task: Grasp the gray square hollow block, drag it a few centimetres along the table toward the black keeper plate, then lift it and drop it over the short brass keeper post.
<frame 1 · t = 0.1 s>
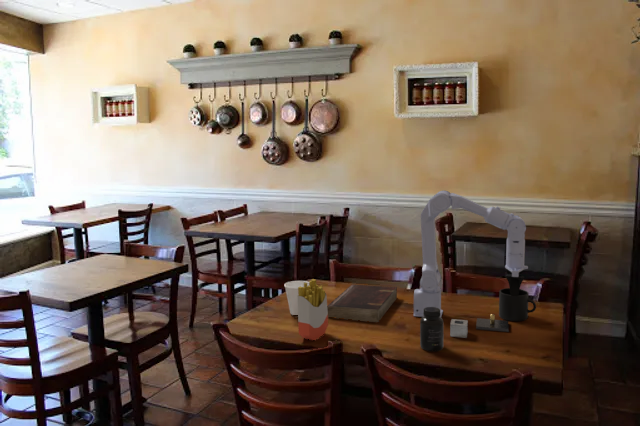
hand: (514, 292, 176), 10 cm above the table, tool pointing down, fingers open, 7 cm apart
french fries container: (314, 337, 168), on the table
cup: (298, 314, 191), on the table
keeper: (492, 326, 173), on the table
mug: (517, 318, 181), on the table
supplement bottle: (431, 348, 157), on the table
gray square hollow block: (458, 334, 167), on the table
hardback book: (363, 308, 196), on the table
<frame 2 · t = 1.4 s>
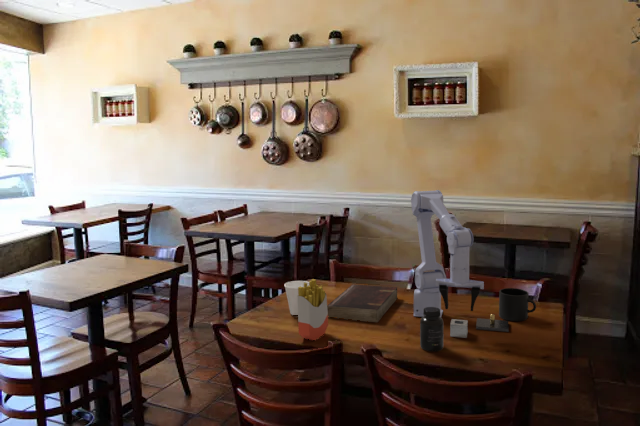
hand: (459, 309, 166), 8 cm above the table, tool pointing down, fingers open, 7 cm apart
nothing on the table moved.
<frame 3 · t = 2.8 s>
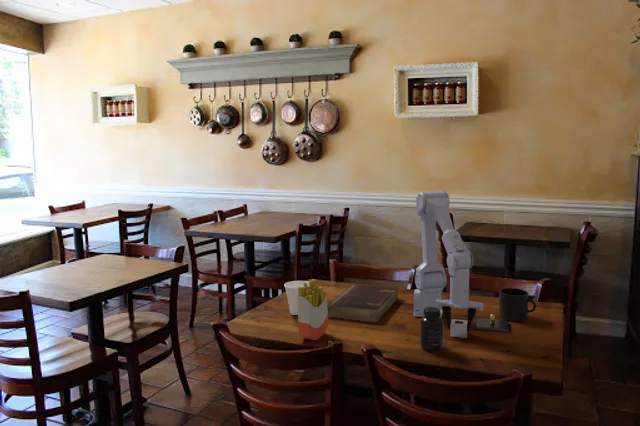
hand: (459, 330, 167), 1 cm above the table, tool pointing down, fingers closed on gray square hollow block, 5 cm apart
gray square hollow block: (458, 334, 167), on the table, touching gripper
everything else where it was.
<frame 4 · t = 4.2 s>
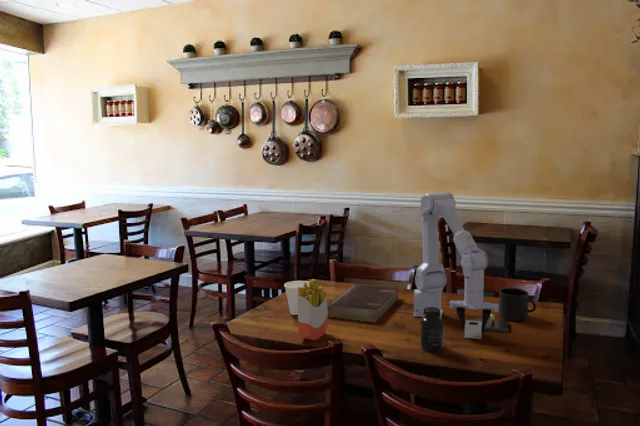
hand: (473, 331, 165), 1 cm above the table, tool pointing down, fingers closed on gray square hollow block, 5 cm apart
gray square hollow block: (473, 335, 165), on the table, touching gripper
everything else where it was.
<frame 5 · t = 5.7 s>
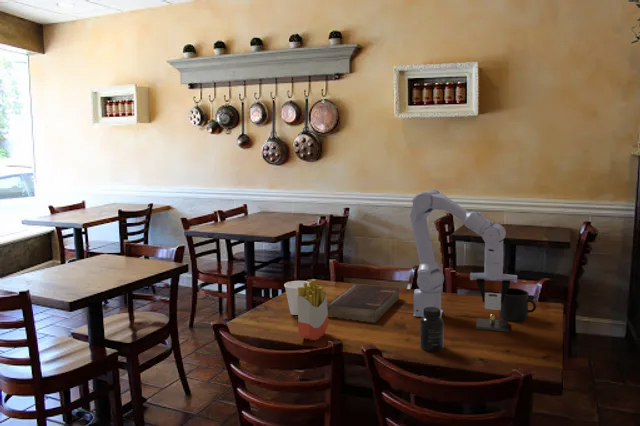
hand: (492, 302, 172), 8 cm above the table, tool pointing down, fingers closed on gray square hollow block, 5 cm apart
gray square hollow block: (492, 307, 172), point 7 cm above the table, touching gripper
everything else where it was.
when the fingers open (4 cm above the table, at t = 7.6 s): gray square hollow block drops 1 cm, resting on keeper.
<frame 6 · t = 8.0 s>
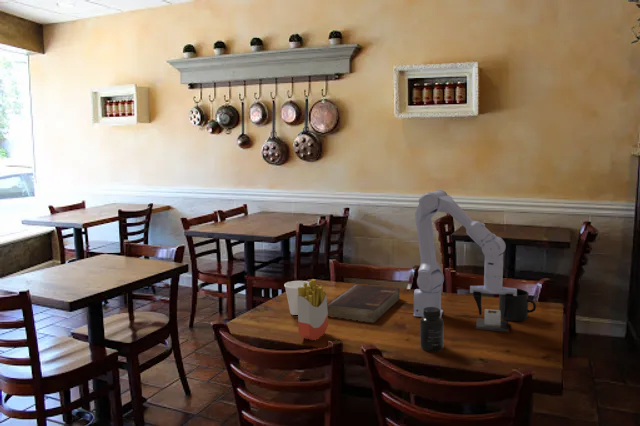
hand: (492, 315, 172), 4 cm above the table, tool pointing down, fingers open, 7 cm apart
gray square hollow block: (492, 323, 173), point 1 cm above the table, touching keeper
everything else where it was.
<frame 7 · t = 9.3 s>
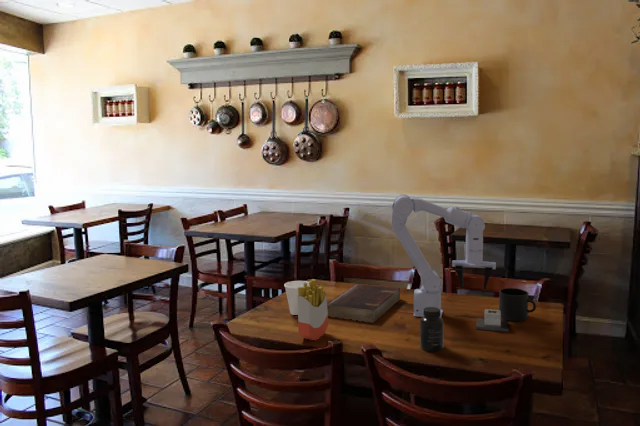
hand: (473, 287, 183), 10 cm above the table, tool pointing down, fingers open, 7 cm apart
nothing on the table moved.
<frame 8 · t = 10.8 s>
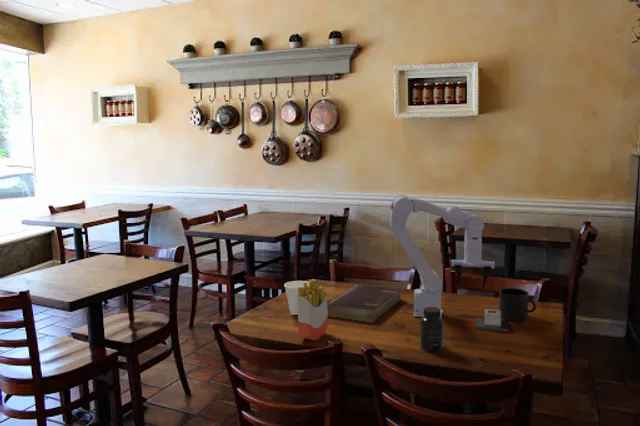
hand: (472, 286, 184), 10 cm above the table, tool pointing down, fingers open, 7 cm apart
at the end: gray square hollow block 0.1 cm off-centre on the keeper, point 1.0 cm above the keeper's base; the gripper is holding nothing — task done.
